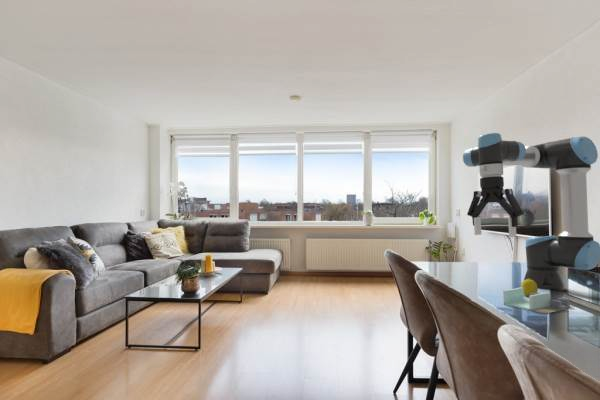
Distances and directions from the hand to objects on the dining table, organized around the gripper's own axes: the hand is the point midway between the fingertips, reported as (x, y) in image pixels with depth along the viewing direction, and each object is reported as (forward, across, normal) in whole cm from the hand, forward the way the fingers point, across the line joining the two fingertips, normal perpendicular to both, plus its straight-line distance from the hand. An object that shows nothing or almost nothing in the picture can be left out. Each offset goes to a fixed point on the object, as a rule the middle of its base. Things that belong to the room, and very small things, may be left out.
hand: (494, 235), depth 128 cm
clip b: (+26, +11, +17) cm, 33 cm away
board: (+27, +6, +14) cm, 31 cm away
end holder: (+26, +4, +10) cm, 28 cm away
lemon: (+27, -5, +25) cm, 37 cm away
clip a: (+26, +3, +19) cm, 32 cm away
